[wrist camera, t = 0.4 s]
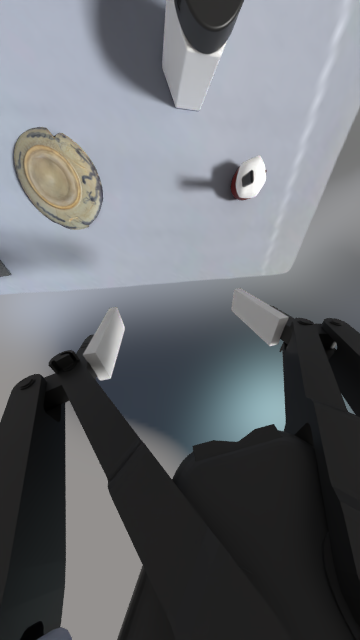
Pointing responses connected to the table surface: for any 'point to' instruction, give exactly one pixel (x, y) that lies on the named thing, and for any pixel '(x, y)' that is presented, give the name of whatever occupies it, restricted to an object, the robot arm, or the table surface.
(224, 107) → the table surface
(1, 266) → the mat
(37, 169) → the decorative bowl
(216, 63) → the jar
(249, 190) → the toy boat
